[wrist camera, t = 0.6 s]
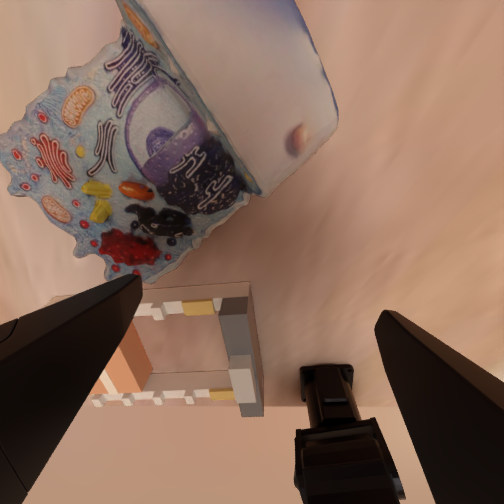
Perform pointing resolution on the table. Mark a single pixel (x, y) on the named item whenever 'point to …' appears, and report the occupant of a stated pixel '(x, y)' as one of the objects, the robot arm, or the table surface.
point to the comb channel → (236, 341)
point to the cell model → (172, 128)
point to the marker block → (125, 367)
